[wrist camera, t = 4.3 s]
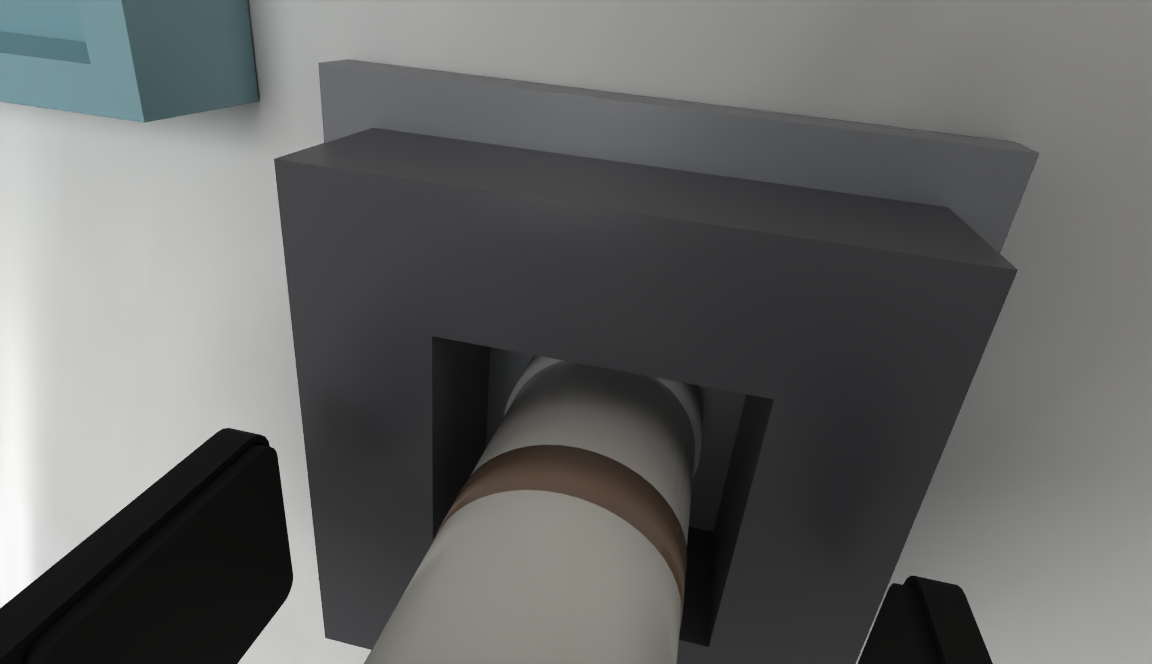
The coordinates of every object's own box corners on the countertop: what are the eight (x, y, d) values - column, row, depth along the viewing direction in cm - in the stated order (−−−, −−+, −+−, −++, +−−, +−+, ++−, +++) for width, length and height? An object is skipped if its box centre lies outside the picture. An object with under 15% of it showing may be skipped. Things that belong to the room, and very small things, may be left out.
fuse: (719, 343, 13) (696, 897, 5) (686, 499, 14) (628, 1102, 6) (525, 309, 13) (214, 754, 5) (515, 464, 15) (268, 978, 7)
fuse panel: (1014, 141, 11) (1145, 202, 8) (827, 639, 16) (853, 810, 13) (346, 59, 13) (201, 77, 9) (373, 533, 18) (287, 658, 15)
